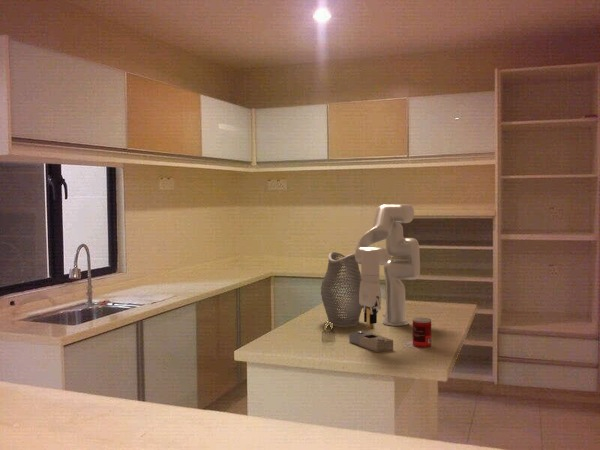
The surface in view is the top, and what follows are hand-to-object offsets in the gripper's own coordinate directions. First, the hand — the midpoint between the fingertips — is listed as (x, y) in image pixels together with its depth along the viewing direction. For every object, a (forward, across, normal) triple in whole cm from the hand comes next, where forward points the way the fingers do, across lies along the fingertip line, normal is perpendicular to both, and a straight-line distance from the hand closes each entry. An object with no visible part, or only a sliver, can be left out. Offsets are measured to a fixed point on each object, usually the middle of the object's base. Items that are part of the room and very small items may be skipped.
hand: (370, 322), depth 242 cm
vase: (+10, -43, +14) cm, 47 cm away
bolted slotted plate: (+10, 0, 0) cm, 10 cm away
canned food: (+10, +10, +19) cm, 24 cm away
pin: (+3, 0, 0) cm, 3 cm away
